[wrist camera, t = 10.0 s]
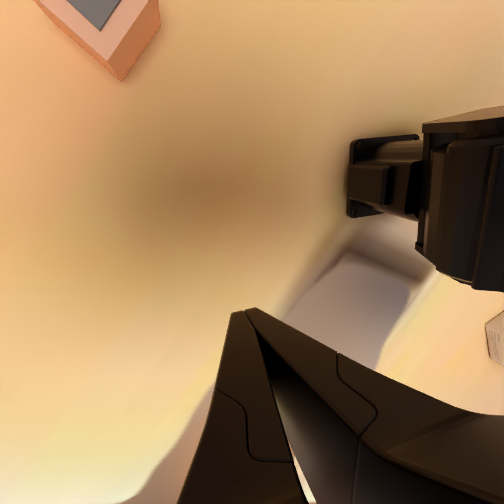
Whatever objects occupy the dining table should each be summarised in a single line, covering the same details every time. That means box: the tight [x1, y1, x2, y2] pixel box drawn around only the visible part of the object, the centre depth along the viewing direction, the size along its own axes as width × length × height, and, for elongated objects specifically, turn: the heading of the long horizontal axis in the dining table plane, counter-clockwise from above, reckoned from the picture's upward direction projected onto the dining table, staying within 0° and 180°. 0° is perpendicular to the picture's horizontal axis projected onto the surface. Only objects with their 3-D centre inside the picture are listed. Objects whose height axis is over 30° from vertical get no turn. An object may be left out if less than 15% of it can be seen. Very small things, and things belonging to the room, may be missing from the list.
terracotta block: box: [34, 0, 160, 81], centre depth 13 cm, size 4×4×4 cm
